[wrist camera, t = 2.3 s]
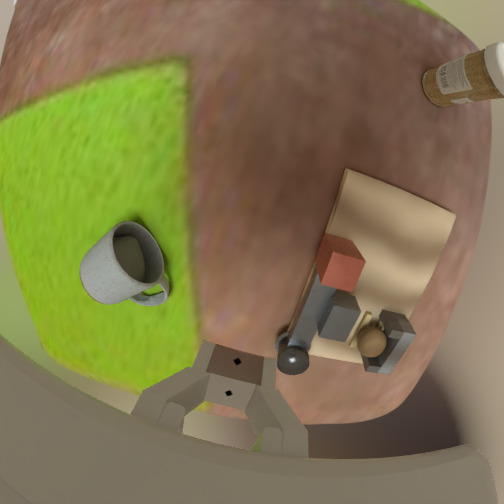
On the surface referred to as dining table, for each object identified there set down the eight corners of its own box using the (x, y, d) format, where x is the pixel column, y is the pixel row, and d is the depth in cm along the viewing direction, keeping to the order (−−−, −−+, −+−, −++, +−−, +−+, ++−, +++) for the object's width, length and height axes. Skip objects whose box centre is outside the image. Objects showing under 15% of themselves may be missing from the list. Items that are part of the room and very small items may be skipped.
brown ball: (361, 317, 28) (369, 337, 25) (387, 323, 28) (395, 342, 25) (349, 341, 30) (354, 361, 27) (373, 345, 30) (380, 365, 26)
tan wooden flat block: (334, 164, 25) (346, 168, 20) (449, 212, 25) (476, 226, 20) (271, 345, 34) (268, 375, 29) (372, 364, 34) (380, 392, 28)
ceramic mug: (98, 245, 31) (62, 270, 24) (137, 211, 29) (99, 233, 22) (145, 308, 34) (119, 344, 27) (189, 284, 32) (166, 322, 25)
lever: (321, 231, 25) (329, 250, 21) (373, 247, 25) (390, 268, 21) (274, 353, 32) (272, 384, 27) (317, 362, 32) (320, 392, 27)
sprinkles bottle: (448, 114, 21) (532, 111, 8) (416, 93, 20) (496, 72, 8) (455, 83, 19) (533, 67, 6) (424, 62, 19) (497, 29, 6)
